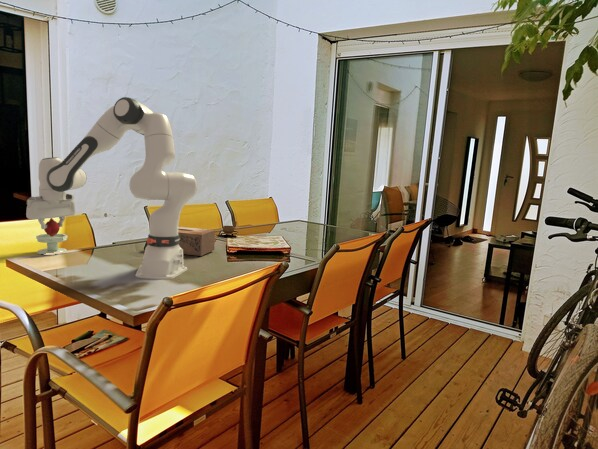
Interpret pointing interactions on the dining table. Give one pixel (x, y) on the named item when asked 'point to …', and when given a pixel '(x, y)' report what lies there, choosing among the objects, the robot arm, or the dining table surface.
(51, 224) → the onion
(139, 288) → the dining table surface
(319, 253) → the dining table surface
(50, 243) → the stand
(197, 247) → the tissue box cover
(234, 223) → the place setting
